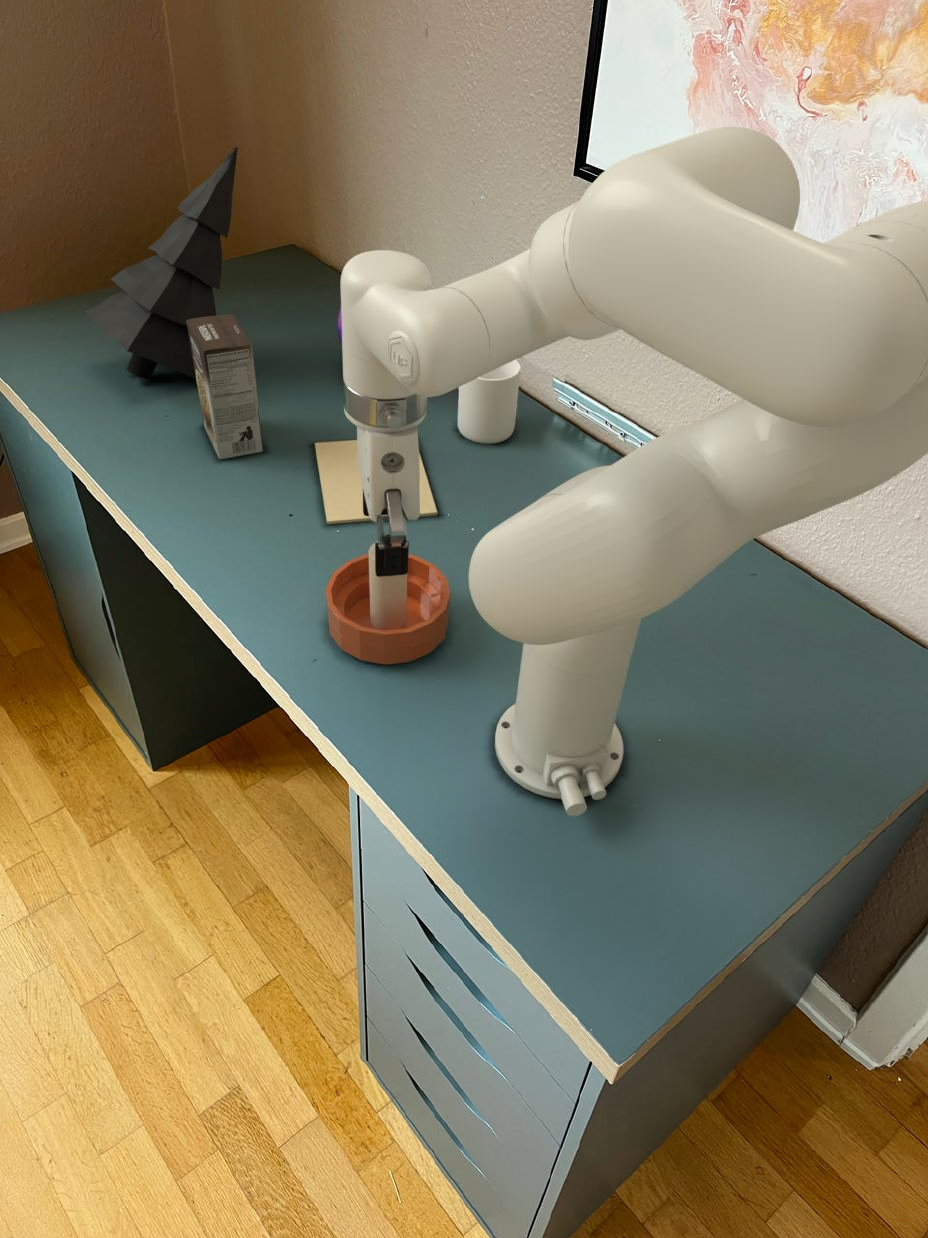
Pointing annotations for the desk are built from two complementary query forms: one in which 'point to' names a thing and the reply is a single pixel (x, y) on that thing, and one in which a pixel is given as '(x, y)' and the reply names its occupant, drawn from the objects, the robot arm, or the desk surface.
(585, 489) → the robot arm
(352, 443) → the mat
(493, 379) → the cup
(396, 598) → the cream cylinder
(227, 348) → the coffee box
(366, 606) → the bowl
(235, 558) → the desk surface
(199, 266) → the decorative tree
